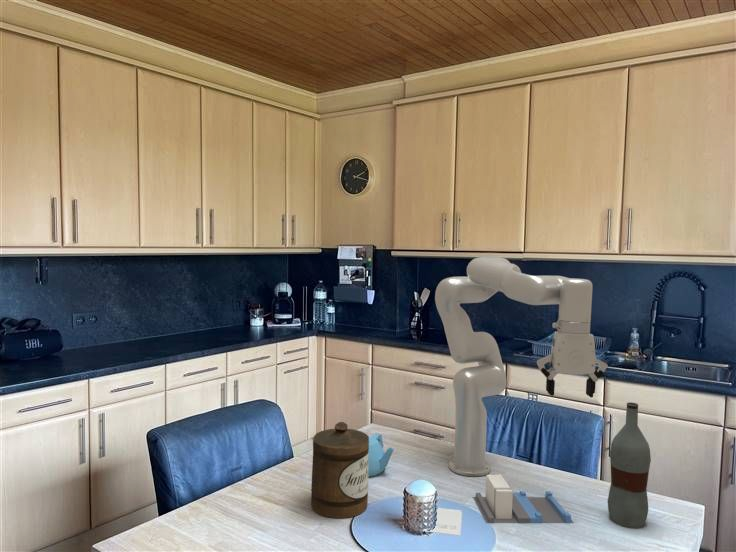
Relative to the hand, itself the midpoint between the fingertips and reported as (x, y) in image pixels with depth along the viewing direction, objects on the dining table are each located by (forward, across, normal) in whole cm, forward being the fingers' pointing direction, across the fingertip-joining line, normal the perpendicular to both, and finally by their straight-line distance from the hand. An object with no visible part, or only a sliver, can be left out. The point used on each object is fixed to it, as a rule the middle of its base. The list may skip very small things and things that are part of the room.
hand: (570, 395), depth 137 cm
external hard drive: (+33, -31, -6) cm, 45 cm away
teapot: (+33, -52, +25) cm, 67 cm away
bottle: (+32, +16, -1) cm, 35 cm away
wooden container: (+32, -58, +2) cm, 66 cm away
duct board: (+32, -10, +1) cm, 33 cm away
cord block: (+31, -16, +1) cm, 35 cm away
